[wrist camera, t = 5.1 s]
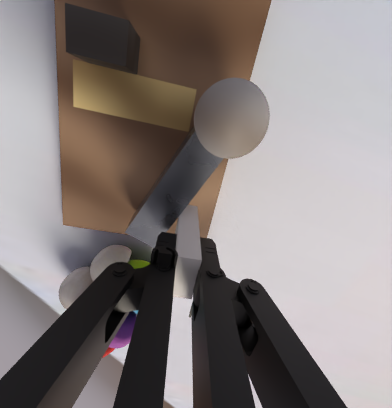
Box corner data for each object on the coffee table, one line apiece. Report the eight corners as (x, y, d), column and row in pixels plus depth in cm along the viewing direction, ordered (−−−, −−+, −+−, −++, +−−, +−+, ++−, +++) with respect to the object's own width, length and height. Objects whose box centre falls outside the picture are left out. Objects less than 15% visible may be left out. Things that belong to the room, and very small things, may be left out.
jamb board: (60, -108, 11) (-35, -273, 6) (286, -32, 13) (347, -117, 8) (68, 219, 19) (28, 257, 14) (209, 241, 21) (217, 282, 16)
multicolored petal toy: (59, 276, 22) (5, 349, 15) (129, 225, 20) (101, 283, 13) (119, 320, 25) (95, 397, 18) (185, 279, 23) (185, 349, 16)
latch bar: (193, 126, 15) (195, 130, 13) (219, 147, 16) (226, 154, 13) (134, 213, 18) (124, 232, 15) (158, 227, 18) (154, 248, 16)
